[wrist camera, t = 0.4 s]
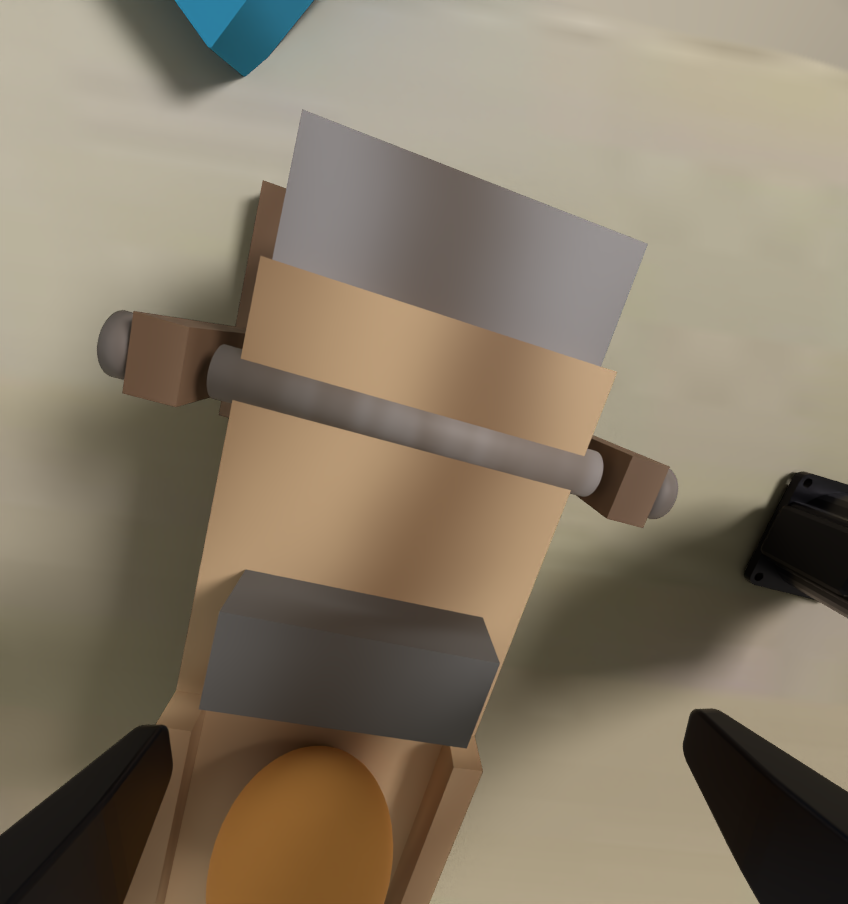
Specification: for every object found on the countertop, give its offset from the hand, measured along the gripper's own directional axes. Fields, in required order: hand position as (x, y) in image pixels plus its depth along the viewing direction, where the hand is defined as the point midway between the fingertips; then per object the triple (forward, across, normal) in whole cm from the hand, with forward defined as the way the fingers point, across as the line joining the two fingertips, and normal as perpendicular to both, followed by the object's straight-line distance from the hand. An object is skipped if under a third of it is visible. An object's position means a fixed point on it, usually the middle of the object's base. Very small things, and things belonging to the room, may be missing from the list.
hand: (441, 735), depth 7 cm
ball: (+1, +3, +5) cm, 6 cm away
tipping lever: (+9, +2, +1) cm, 9 cm away
